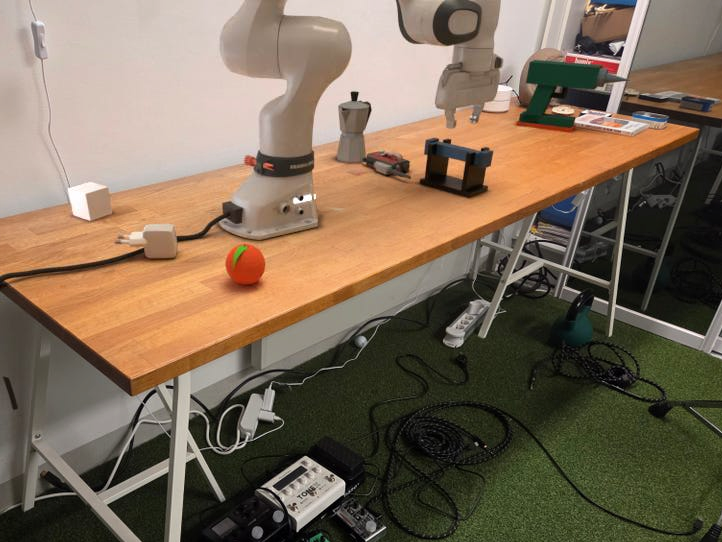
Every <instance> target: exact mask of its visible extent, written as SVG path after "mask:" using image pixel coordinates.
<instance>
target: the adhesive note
mask: <svg viewBox="0 0 722 542" xmlns="http://www.w3.org/2000/svg"><path fill="white" fill-rule="evenodd" d="M67 191H68V197H69V202H70V206H71V210H72V215H73V216H74V217H78V218H80V219H83V220H86V221H90V222H92V221H95V220H97V219H101V218H103V217H106V216H109V215H112V214H113V208H112V207H113V206H112V202H111V196H110V190H109V187H108V186H107V185H104V184H99V183H96V182H92V181H88V182H85V183H81V184H79V185H75V186H72V187H69V188H67Z"/></svg>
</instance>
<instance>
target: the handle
mask: <svg viewBox="0 0 722 542" xmlns="http://www.w3.org/2000/svg"><path fill="white" fill-rule="evenodd" d="M424 141H425V143H424V151H423V155H425V156H427V154H428V146H429V144H430V143H437V150H436V155H439V156H443V157H448V158H449V159H453V160H456V161H461V162H464V163H465V161H466V154H467V152H471V151H473V152H476V153H475V160H474V164H476V165H477V168H481V169H484V168H486V169H487V168H489V167H492V162H493V156H494V150H492V149H489V150H485V151H481V150H480V149H479V150H478V149H474V148H470V147H466V146H461V145H457V144H453V143H451V144H448V143H444V142H443V141H440V138H439V137H431V138H427V139H425V140H424Z"/></svg>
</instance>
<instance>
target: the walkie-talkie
mask: <svg viewBox="0 0 722 542" xmlns="http://www.w3.org/2000/svg"><path fill="white" fill-rule="evenodd" d="M362 161H363V162H362V163H365V164H366V167H370V168H372V169H375V172H378V173H381V174H383V175H386V176H387V175H394V176H397V177H400V178H406V179H409V180H411V178H412V176H411V175H409V174H407V173H406V172H409V171H410V167H411V161H410V160H408V159H406V158H404V157H403V155H402V154H401V153H398V152H394V151H388V152H387V151H386V150H379V151H378V150H377V151H374V152H369V153H366V158H363V159H362Z"/></svg>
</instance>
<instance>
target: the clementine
mask: <svg viewBox="0 0 722 542" xmlns="http://www.w3.org/2000/svg"><path fill="white" fill-rule="evenodd" d="M265 270H266V260H265V256H264V254H263V253H262V251H261V250H260V249H259V248H258V247H256V246H255V245H252V244H249V243H241V244H237V245H236V246H234V247H233V248H232V249H231V250H230V251H229V252H228V254H227V256H226V258H225V271H226V272H227V274H228V276H229V277H230V279H232V280H233V281H234V282H236V283H238V284H241V285H251V284H254V283H256V282H257V281H259V280H260V279H261V278H262V277H263V275H264V273H265V272H266V271H265Z"/></svg>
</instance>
